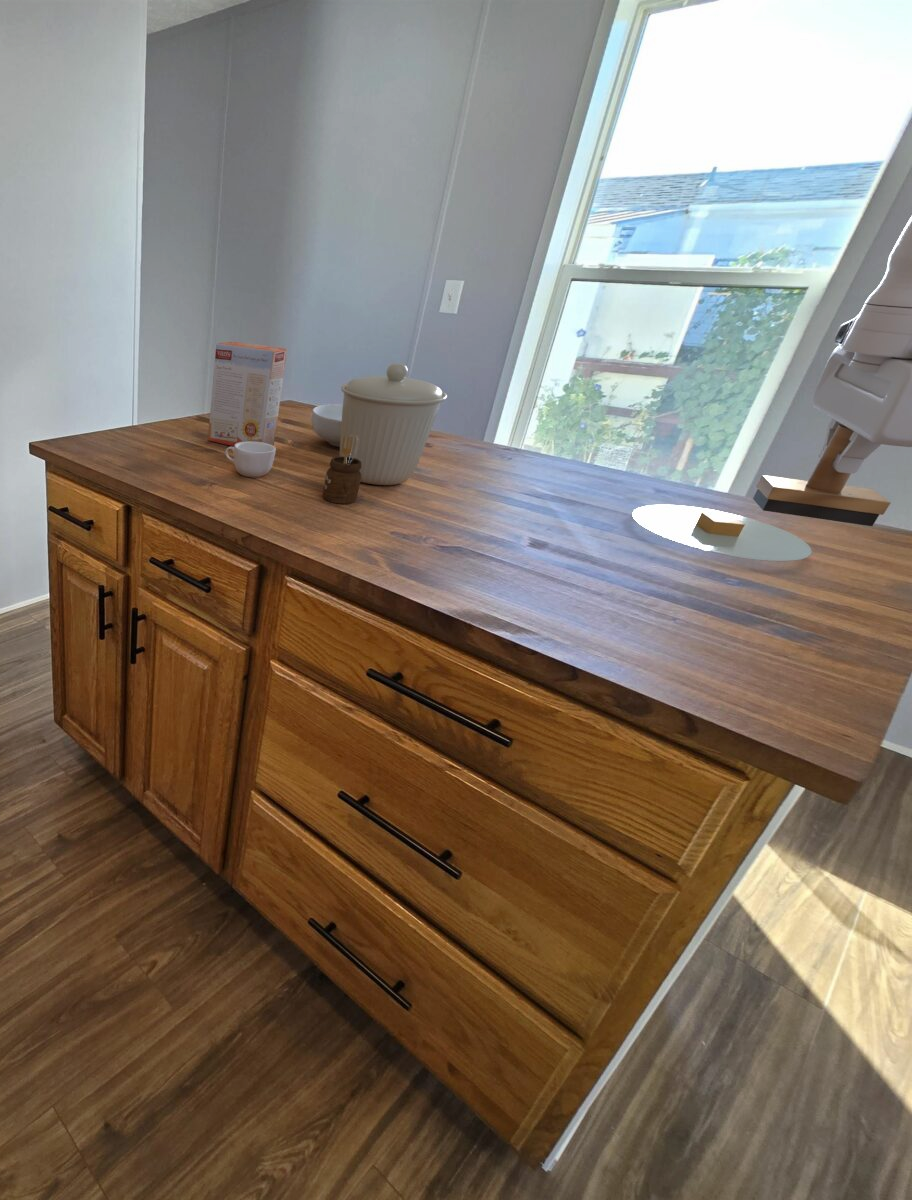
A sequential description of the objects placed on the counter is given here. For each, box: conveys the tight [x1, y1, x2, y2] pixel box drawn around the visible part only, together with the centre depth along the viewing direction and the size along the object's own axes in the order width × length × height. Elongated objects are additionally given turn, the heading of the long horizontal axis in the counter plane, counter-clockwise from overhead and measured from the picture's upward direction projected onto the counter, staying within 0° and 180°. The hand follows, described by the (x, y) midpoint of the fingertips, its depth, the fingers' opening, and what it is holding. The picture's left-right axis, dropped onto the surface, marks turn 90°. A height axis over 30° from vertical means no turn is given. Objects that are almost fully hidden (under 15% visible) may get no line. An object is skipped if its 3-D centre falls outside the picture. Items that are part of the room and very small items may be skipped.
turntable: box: [631, 504, 813, 562], centre depth 103 cm, size 22×22×2 cm
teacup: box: [224, 441, 277, 479], centre depth 127 cm, size 10×8×5 cm
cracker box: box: [207, 341, 288, 447], centre depth 140 cm, size 14×6×21 cm, turn 46°
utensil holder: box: [322, 435, 362, 505], centre depth 113 cm, size 6×6×12 cm
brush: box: [752, 425, 891, 527], centre depth 75 cm, size 10×5×10 cm, turn 61°
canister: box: [339, 363, 448, 486], centre depth 122 cm, size 18×18×21 cm
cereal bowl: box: [311, 403, 343, 448], centre depth 146 cm, size 17×17×7 cm
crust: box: [696, 512, 745, 536], centre depth 102 cm, size 4×4×2 cm
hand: (835, 466), depth 75 cm, fingers closed on brush, 3 cm apart
